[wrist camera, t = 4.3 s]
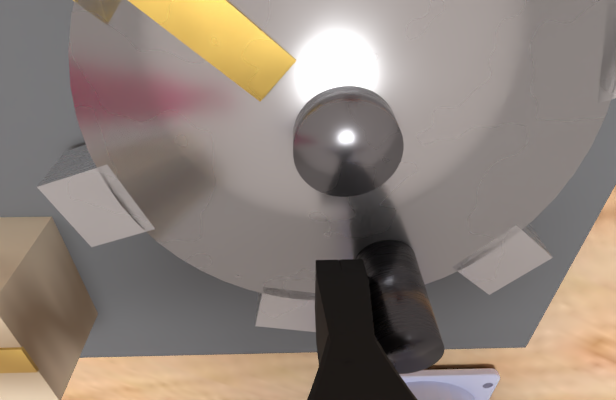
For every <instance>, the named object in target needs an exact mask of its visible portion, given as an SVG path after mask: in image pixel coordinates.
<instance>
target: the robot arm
mask: <svg viewBox="0 0 616 400" xmlns="http://www.w3.org/2000/svg"><path fill="white" fill-rule="evenodd" d="M315 325H316V345H317V352H318V360H319V368H318V371H317V374H316V377H315V380H314V383H313V386H312V389H311V391H310V394H309V397H308V399H307V400H489V399H490V397H491V395H492V393H493V391H494V389H495V387H496V385H497V384H498V382H499V380H500V376H499V373H498V371H497V370H495V369H493V368H480V369H438V370H421V371H418V372H413V373H407V374H399V373H398V372H397V370H396V369H395V367H394V366H393V364H392V363H391V361H390V360H389V358H388V357H387V355H386V353H385V352H384V350H383V348H382V347H381V345H380V343H379V342H378V340H377V338H376V337H375V335H374V325H373V315H372V305H371V296H370V287H369V279H368V276H367V272H366V269H365V265H364V262H363V259H342V260H316V269H315Z"/></svg>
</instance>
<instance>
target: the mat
mask: <svg viewBox="0 0 616 400" xmlns="http://www.w3.org/2000/svg"><path fill="white" fill-rule="evenodd" d="M73 5H74V1H73V0H0V217H52V218H53V220H54V222H55V224H56V226H57V228H58V231H59V233H60V235H61V237H62V239H63V241H64V243H65V245H66V247H67V249H68V252H69V254H70V256H71V258H72V260H73V262H74V264H75V266H76V268H77V270H78V273H79V275H80V277H81V279H82V281H83V283H84V285H85V287H86V289H87V291H88V294H89V296H90V298H91V300H92V302H93V304H94V306H95V308H96V310H97V312H98V315H97V318H96V320H95V322H94V324H93V327H92V329H91V331H90V334H89V336H88V338H87V341H86V343H85V345H84V348H83V350H82V352H81V355H80V357H79V358H83V357H127V356H170V355H214V354H257V353H301V352H317V345H316V332H309V331H299V330H289V329H279V328H269V327H259V326H255V322H256V310H257V298H258V292H256V291H252V290H248V289H245V288H242V287H239V286H236V285H233V284H230V283H228V282H225V281H222V280H220V279H218V278H216V277H214V276H211V275H209V274H207V273H205V272H203V271H201V270H199V269H197V268H196V267H194V266H192V265H190V264H189V263H187V262H185V261H183V260H182V259H180V258H178V257H177V256H176V255H174V254H173V253H172V252H170V251H169V250H167V249H166V248H165V247H163V246H162V245H161V244H159V243H158V242H157V241H156V240H155V239H153V238H152V237H151V236H150V235H149V234H148V233H147V232H143V233H140V234H136V235H133V236H129V237H126V238H122V239H119V240H115V241H112V242H108V243H105V244H101V245H98V246H94V247H91V246H90V245H89V244H88V243H87V242H86V241H85V240H84V238H83V237H82V236H81V235H80V234H79V233H78V232H77V231H76V230H75V229H74V227H73V226H72V225H71V224H70V223H69V222H68V221H67V220H66V219H65V218H64V216H63V215H62V214H61V213H60V212H59V211H58V210H57V209H56V208H55V206H54V205H53V204H52V203H51V202H50V201H49V200H48V199H47V198H46V197H45V195H44V194H43V193H42V192H41V191H40V190H39V189H38V188H37V186H38V185H39V184H40V183H41V181H42V180H43V179H44V177H45V176H46V175H47V174H48V172H49V171H50V170H51V169H52V167H53V166H54V165H55V164H56V162H57V161H58V160H59V159H60V157H61V156H62V155H63V154H64V152H65V151H67V150H70V149H73V148H76V147H79V146H82V145H85V144H86V143H85V141H84V138H83V135H82V132H81V130H80V127H79V124H78V121H77V116H76V112H75V107H74V102H73V97H72V93H71V87H70V72H69V57H68V49H69V37H70V25H71V14H72V10H73ZM615 185H616V98H615V99H611V102H610V105H609V108H608V111H607V113H606V116H605V119H604V121H603V123H602V125H601V127H600V129H599V131H598V134H597V136H596V138H595V140H594V142H593V144H592V146H591V148H590V150H589V151H588V153H587V154H586V156H585V157H584V159H583V161H582V162H581V164H580V165H579V167H578V169H577V170H576V172H575V173H574V175H573V176H572V177H571V179H570V180H569V181H568V182H567V184H566V185H565V186H564V187H563V189H562V190H561V191H560V192H559V194H558V195H557V196H556V198H555V199H554V200H553V201H552V202H551V203H550V204H549V205H548V206H547V207H546V208H545V209H544V210H543V211H542V212H541V213H540V214H539V215H538V216H537V217H536V218H535V219H534V220H533V221H532V222H531V223H530V224H531V226H532V227H533V229H534V230H535V232H536V233H537V235H538V236H539V238H540V239H541V241H542V242H543V244H544V245H545V247H546V248H547V250H548V251H549V253H550V254H551V256H552V257H553V258H551V259H550V260H548V261H546V262H545V263H543V264H541V265H539V266H538V267H536V268H534V269H533V270H531V271H529V272H528V273H526V274H524V275H522V276H521V277H519V278H517V279H516V280H514V281H512V282H511V283H509V284H507V285H505V286H504V287H502V288H500V289H499V290H497V291H495V292H493V293H492V294H490V295H489V294H487V293H486V292H485V291H483V290H482V289H481V288H479V287H478V286H477V285H475V284H474V283H472V282H471V281H470V280H468V279H467V278H466V277H464V276H463V275H462V274H460V273H459V272H458V271H457V272H455V273H453V274H450V275H448V276H446V277H444V278H442V279H439V280H436V281H433V282H431V283H428V284H425V287H426V290H427V294H428V297H429V300H430V303H431V306H432V310H433V313H434V316H435V319H436V322H437V325H438V329H439V332H440V335H441V338H442V341H443V344H444V349H475V348H518V347H526V346H527V344H528V342H529V340H530V339H531V337H532V335H533V333H534V331H535V330H536V328H537V326H538V324H539V322H540V320H541V319H542V317H543V315H544V313H545V311H546V310H547V308H548V306H549V304H550V302H551V301H552V299H553V297H554V295H555V293H556V292H557V290H558V288H559V286H560V284H561V282H562V281H563V279H564V277H565V275H566V273H567V272H568V270H569V268H570V266H571V264H572V263H573V261H574V259H575V257H576V255H577V254H578V252H579V250H580V248H581V246H582V245H583V243H584V241H585V239H586V237H587V235H588V234H589V232H590V230H591V228H592V226H593V225H594V223H595V221H596V219H597V217H598V216H599V214H600V212H601V210H602V208H603V207H604V205H605V203H606V201H607V199H608V198H609V196H610V194H611V192H612V190H613V188H614V187H615Z"/></svg>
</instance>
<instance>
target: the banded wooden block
mask: <svg viewBox="0 0 616 400" xmlns="http://www.w3.org/2000/svg"><path fill="white" fill-rule="evenodd" d="M97 315H98V312H97V310H96V308H95V306H94V304H93V302H92V300H91V298H90V296H89V294H88V291H87V289H86V287H85V285H84V283H83V281H82V279H81V277H80V275H79V273H78V270H77V268H76V266H75V264H74V262H73V260H72V258H71V256H70V254H69V252H68V249H67V247H66V245H65V243H64V241H63V239H62V237H61V235H60V233H59V231H58V228H57V226H56V224H55V222H54V220H53V218H52V217H0V400H61V398H62V396H63V394H64V391H65V389H66V387H67V385H68V382H69V380H70V378H71V375H72V373H73V371H74V368H75V366H76V364H77V361H78V359H79V357H80V355H81V352H82V350H83V348H84V345H85V343H86V341H87V338H88V336H89V334H90V331H91V329H92V327H93V324H94V322H95V320H96V318H97Z"/></svg>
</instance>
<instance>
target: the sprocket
mask: <svg viewBox="0 0 616 400" xmlns="http://www.w3.org/2000/svg"><path fill="white" fill-rule="evenodd" d="M73 1H74V5H73V10H72V14H71V25H70V37H69V49H68V57H69V72H70V87H71V93H72V97H73V102H74V107H75V112H76V116H77V121H78V124H79V127H80V130H81V132H82V135H83V138H84V141H85V143H86V144H85V145H82V146H79V147H76V148H73V149H70V150H67V151H65V152H64V154H63V155H62V156H61V157H60V159H59V160H58V161H57V162H56V164H55V165H54V166H53V167H52V169H51V170H50V171H49V172H48V174H47V175H46V176H45V177H44V179H43V180H42V181H41V183H40V184H39V185H38V186H37V188H38V189H39V190H40V191H41V192H42V193H43V194H44V195H45V197H46V198H47V199H48V200H49V201H50V202H51V203H52V204H53V205H54V206H55V208H56V209H57V210H58V211H59V212H60V213H61V214H62V215H63V216H64V218H65V219H66V220H67V221H68V222H69V223H70V224H71V225H72V226H73V227H74V229H75V230H76V231H77V232H78V233H79V234H80V235H81V236H82V237H83V238H84V240H85V241H86V242H87V243H88V244H89V245H90V246H91V247H94V246H98V245H101V244H105V243H108V242H112V241H115V240H119V239H122V238H126V237H129V236H133V235H136V234H140V233H143V232H147V233H148V234H149V235H150V236H151V237H152V238H153V239H155V240H156V241H157V242H158V243H159V244H161V245H162V246H163V247H165V248H166V249H167V250H169V251H170V252H172V253H173V254H174V255H176V256H177V257H178V258H180V259H182V260H183V261H185V262H187V263H189V264H190V265H192V266H194V267H196V268H197V269H199V270H201V271H203V272H205V273H207V274H209V275H211V276H214V277H216V278H218V279H220V280H222V281H225V282H228V283H230V284H233V285H236V286H239V287H242V288H245V289H248V290H252V291H256V292H258V298H257V310H256V322H255V326H259V327H269V328H279V329H289V330H299V331H309V332H316V325H315V269H316V260H342V259H363V262H364V265H365V269H366V272H367V276H368V279H369V287H370V296H371V305H372V315H373V325H374V335H375V337H376V338H377V340H378V342H379V343H380V345H381V347H382V348H383V350H384V352H385V353H386V355H387V357H388V358H389V360H390V361H391V363H392V364H393V366H394V367H395V369H396V370H397V372H398V373H399V374H407V373H413V372H418V371H421V370H424V369H426V368H428V367H430V366H432V365H433V364H435V363H436V362H437V361H438V360H439V359H440V358H441V357H442V355H443V353H444V344H443V341H442V338H441V335H440V332H439V329H438V325H437V322H436V319H435V316H434V313H433V310H432V306H431V303H430V300H429V297H428V294H427V290H426V287H425V284H428V283H431V282H433V281H436V280H439V279H442V278H444V277H446V276H448V275H450V274H453V273H455V272H457V271H458V272H459V273H460V274H462V275H463V276H464V277H466V278H467V279H468V280H470V281H471V282H472V283H474V284H475V285H477V286H478V287H479V288H481V289H482V290H483V291H485V292H486V293H487V294H489V295H490V294H492V293H493V292H495V291H497V290H499V289H500V288H502V287H504V286H505V285H507V284H509V283H511V282H512V281H514V280H516V279H517V278H519V277H521V276H522V275H524V274H526V273H528V272H529V271H531V270H533V269H534V268H536V267H538V266H539V265H541V264H543V263H545V262H546V261H548V260H550V259H551V258H553V257H552V256H551V254H550V253H549V251H548V250H547V248H546V247H545V245H544V244H543V242H542V241H541V239H540V238H539V236H538V235H537V233H536V232H535V230H534V229H533V227H532V226H531V224H530V223H531V222H532V221H533V220H534V219H535V218H536V217H537V216H538V215H539V214H540V213H541V212H542V211H543V210H544V209H545V208H546V207H547V206H548V205H549V204H550V203H551V202H552V201H553V200H554V199H555V198H556V196H557V195H558V194H559V192H560V191H561V190H562V189H563V187H564V186H565V185H566V184H567V182H568V181H569V180H570V179H571V177H572V176H573V175H574V173H575V172H576V170H577V169H578V167H579V165H580V164H581V162H582V161H583V159H584V157H585V156H586V154H587V153H588V151H589V150H590V148H591V146H592V144H593V142H594V140H595V138H596V136H597V134H598V131H599V129H600V127H601V125H602V123H603V121H604V119H605V116H606V113H607V111H608V108H609V105H610V102H611V99H615V98H616V0H73Z"/></svg>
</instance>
